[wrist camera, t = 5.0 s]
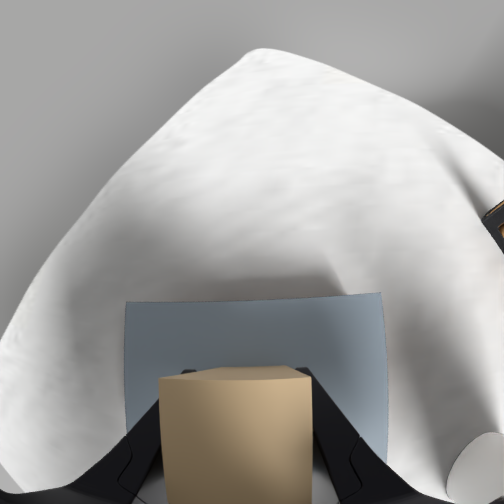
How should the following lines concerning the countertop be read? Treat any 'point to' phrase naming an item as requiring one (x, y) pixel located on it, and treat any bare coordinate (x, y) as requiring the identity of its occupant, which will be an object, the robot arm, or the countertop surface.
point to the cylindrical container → (478, 471)
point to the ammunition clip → (496, 224)
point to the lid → (253, 389)
